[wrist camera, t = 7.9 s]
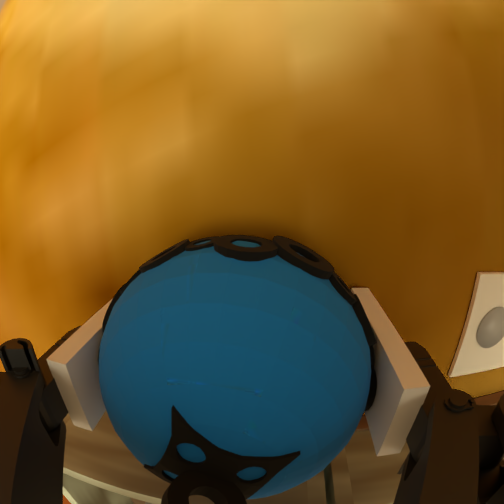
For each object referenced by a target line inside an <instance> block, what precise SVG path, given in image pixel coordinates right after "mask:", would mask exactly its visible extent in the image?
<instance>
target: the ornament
mask: <svg viewBox="0 0 504 504" xmlns="http://www.w3.org/2000/svg"><path fill="white" fill-rule="evenodd" d="M102 331H103V336H102V339H101V342H100V347H99V351H98V365H99V384H100V389H101V395H102V399H103V402H104V405H105V408H106V411H107V413H108V416H109V419H110V421H111V423H112V425H113V427H114V429H115V432H116V433H117V434H118V436H119V437H120V439H121V440H122V441H123V443H124V444H125V446H126V447H127V448H128V449H129V450H130V452H131V453H132V454H133V455H134V456H135V458H136V459H137V460H138V461H139V462H140V463H142V464H143V465H144V466H143V467H144V468H145V469H147V470H148V471H150V472H151V473H153V474H154V475H156V476H157V477H159V478H160V479H162V480H164V481H166V482H168V483H170V485H169V487H168V488H167V489H166V491H165V492H164V494H163V496H162V500H161V504H189V496H191V495H201V496H204V497H207V498H209V499H210V500H211V501H212V502H214V504H247V502H246V499H257V498H264V497H268V496H272V495H276V494H279V493H282V492H284V491H286V490H289V489H291V488H293V487H295V486H297V485H299V484H301V483H303V482H305V481H307V480H309V479H311V478H312V477H314V476H315V475H317V474H318V473H319V472H321V471H322V470H323V469H324V468H325V467H326V466H327V465H328V464H329V463H330V462H331V461H332V460H333V459H334V458H335V457H336V456H337V455H338V454H339V453H340V452H341V451H342V450H343V449H344V447H345V446H346V445H347V444H348V443H349V441H350V439H351V437H352V435H353V434H354V432H355V430H356V428H357V426H358V424H359V422H360V420H361V417H362V415H363V413H364V411H368V410H369V409H370V408H371V406H372V405H373V402H374V399H375V396H376V390H377V376H376V372H375V368H374V366H375V355H374V348H373V345H374V344H376V343H377V342H376V338H375V335H374V333H373V330H372V327H371V325H370V322H369V320H368V318H367V315H366V313H365V311H364V308H363V306H362V304H361V302H360V300H359V298H358V296H357V295H356V294H353V293H352V292H351V290H350V289H349V288H348V286H347V285H346V284H345V283H344V282H343V281H342V279H341V278H340V277H339V276H338V275H337V274H336V273H335V272H334V268H333V266H332V265H331V264H330V263H329V262H328V261H327V260H325V259H324V258H323V257H322V256H320V255H319V254H317V253H316V252H314V251H313V250H311V249H309V248H307V247H306V246H304V245H302V244H300V243H298V242H296V241H293V240H291V239H288V238H285V237H282V236H274V238H273V240H272V241H271V240H268V239H264V238H260V237H254V236H245V235H227V236H221V237H219V236H215V237H207V238H202V239H198V240H195V241H192V242H190V241H189V239H186V240H184V241H181V242H179V243H177V244H175V245H174V246H172V247H170V248H168V249H166V250H165V251H163V252H161V253H160V254H158V255H156V256H155V257H153V258H152V259H150V260H149V261H147V262H146V263H144V264H143V265H142V266H140V267H139V270H138V271H137V272H136V273H135V274H134V275H133V276H132V278H131V279H130V280H129V281H128V282H127V283H126V284H124V285H123V286H122V287H121V288H120V289H119V290H118V292H117V293H116V294H115V296H114V298H113V299H112V301H111V303H110V305H109V307H108V309H107V311H106V314H105V316H104V320H103V324H102Z"/></svg>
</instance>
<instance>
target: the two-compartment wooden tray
mask: <svg viewBox="0 0 504 504" xmlns="http://www.w3.org/2000/svg"><path fill="white" fill-rule="evenodd" d="M503 394H504V391H501V392H497V393H493V394H490V395H486V396H482V397H478V398H474V400H475V402H476V405H497V403H498V401H499V399H500V397H501V396H502V395H503ZM63 421H64V423H65V425H66V440H65V452H64V467H63V494H64V496H65V497H66V498H67V499H68V500H69V501H70V502H71V504H145V502H149V503H153V504H161V500H162V496H163V494H164V492H165V491H166V489H167V488H168V487H169V485H170V483H168V482H166V481H164V480H162V479H160V478H159V477H157V476H156V475H154V474H153V473H151V472H150V471H148V470H147V469H145V468H144V467H143V466H144V465H143V464H142V463H140V462H139V461H138V460H137V459H136V458H135V456H134V455H133V454H132V453H131V452H130V450H129V449H128V448H127V447H126V446H125V444H124V443H123V441H122V440H121V439H120V437H119V436H118V434H117V433H116V432H115V429H114V427H113V425H112V423H111V421H110V419H109V416H108V413H107V411H105V412H104V414H103V415H102V417H101V419H100V420H99V422H98V423H97V425H96V426H95V428H94V430H93V431H90V430H86V429H83V428H80V427H77V426H75V425H74V424H73V422H72V420H71V418H70V416H69V414H67V415H66V417H65V418H64V419H63ZM409 452H410V450H409V447H408V444H407V442H405V444H404V446H403V448H402V450H401V452H400V453H397V454H391V455H384V456H377V455H376V452H375V448H374V444H373V440H372V437H371V433H370V430H369V426H368V422H367V419H366V416H362V417H361V420H360V422H359V424H358V426H357V428H356V430H355V432H354V434H353V435H352V437H351V439H350V441H349V443H348V444H347V445H346V446H345V447H344V449H343V450H342V451H341V452H340V453H339V454H338V455H337V456H336V457H335V458H334V459H333V460H332V461H331V462H330V463H329V464H328V465H327V466H326V467H325V468H324V469H323V470H322V471H321V472H319V473H318V474H317V475H315V476H314V477H312V478H311V479H309V480H307V481H305V482H303V483H301V484H299V485H297V486H295V487H293V488H291V489H289V490H286V491H284V492H282V493H279V494H276V495H272V496H268V497H264V498H257V499H246V502H247V504H393V503H394V500H395V496H396V493H397V489H398V486H399V482H400V479H401V475H402V473H401V474H397V473H398V471H399V469H400V468H401V466H402V464H403V463H404V461H405V459H406V457H407V455H408V454H409ZM503 460H504V458H503ZM189 504H214V502H212V501H211V500H210V499H209V498H207V497H204V496H201V495H191V496H189Z"/></svg>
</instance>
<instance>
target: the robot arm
mask: <svg viewBox="0 0 504 504" xmlns="http://www.w3.org/2000/svg"><path fill="white" fill-rule="evenodd" d="M351 292H352V293H353V294H356V295H357V296H358V298H359V300H360V302H361V304H362V306H363V308H364V311H365V313H366V315H367V318H368V320H369V322H370V325H371V327H372V330H373V333H374V335H375V338H376V342H377V343H376V344H374V345H373V348H374V355H375V366H374V368H375V372H376V376H377V390H376V396H375V399H374V402H373V405H372V406H371V408H370V409H369V410H368V411H364V412H365V415H366V419H367V422H368V426H369V430H370V433H371V437H372V440H373V444H374V448H375V452H376V455H377V456H384V455H391V454H397V453H400V452H401V450H402V448H403V446H404V444H405V442H407V444H408V447H409V450H410V452H409V454H408V455H407V457H406V459H405V461H404V463H403V464H402V466H401V468H400V469H399V471H398V473H397V474H401V473H402V475H401V479H400V482H399V486H398V489H397V493H396V496H395V500H394V503H393V504H504V460H503V458H504V394H503V395H502V396H501V397H500V399H499V401H498V403H497V405H476V402H475V400H474V399H473V398H472V397H471V396H470V395H469V394H467V393H465V392H464V391H460V390H457V389H452V388H451V386H450V385H449V383H448V382H447V380H446V379H445V377H444V376H443V374H442V373H441V371H440V370H439V368H438V367H437V366H436V364H435V362H434V361H433V359H431V356H430V355H429V354H428V352H427V351H426V349H425V348H423V347H422V346H421V345H419V344H418V343H416V342H403V340H402V338H401V337H400V335H399V334H398V332H397V330H396V329H395V327H394V326H393V324H392V323H391V321H390V320H389V318H388V317H387V315H386V314H385V312H384V310H383V309H382V307H381V306H380V304H379V303H378V301H377V300H376V298H375V297H374V296H373V294H372V293H371V291H370V290H369V288H351ZM111 301H112V299H111V300H110V301H109V302H108V303H107V304H106V305H105V306H103V307H102V308H101V309H100V310H99V311H98V312H97V313H96V314H95V315H93V316H92V317H91V318H90V319H89V320H88V321H87V322H86V323H85V324H83V325H82V326H79V327H77V328H75V329H73V330H71V331H69V332H68V333H66V334H65V335H64V336H63V337H62V338H61V340H59V341H58V342H56V343H55V345H53V346H52V347H51V348H50V349H49V350H48V351H47V352H46V353H44V354H43V355H42V356H41V357H40V358H39V359H38V360H37V357H36V355H35V352H34V349H33V346H32V343H31V342H30V341H29V340H27V339H23V338H17V339H12V340H9V341H6V342H5V343H3V344H2V345H0V358H1V361H2V363H3V366H4V368H5V371H6V372H0V504H63V501H62V500H63V467H64V452H65V440H66V425H65V423H64V421H63V419H64V418H65V417H66V415H67V414H69V416H70V418H71V420H72V422H73V424H74V425H75V426H77V427H80V428H83V429H86V430H90V431H93V430H94V428H95V426H96V425H97V423H98V422H99V420H100V419H101V417H102V415H103V414H104V412H105V411H106V408H105V405H104V402H103V399H102V395H101V389H100V384H99V365H98V351H99V347H100V342H101V339H102V336H103V331H102V324H103V320H104V316H105V314H106V311H107V309H108V307H109V305H110V303H111Z"/></svg>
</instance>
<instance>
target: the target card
mask: <svg viewBox="0 0 504 504" xmlns="http://www.w3.org/2000/svg"><path fill="white" fill-rule="evenodd" d="M500 367H504V272H477V277H476V282H475V286H474V291H473V295H472V299H471V303H470V307H469V311H468V314H467V318H466V322H465V325H464V328H463V332H462V335H461V338H460V341H459V344H458V347H457V350H456V353H455V356H454V359H453V362H452V365H451V367H450V370H449V373H448V375H449V377H455V376H461V375H467V374H472V373H477V372H482V371H487V370H491V369H496V368H500Z"/></svg>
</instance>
